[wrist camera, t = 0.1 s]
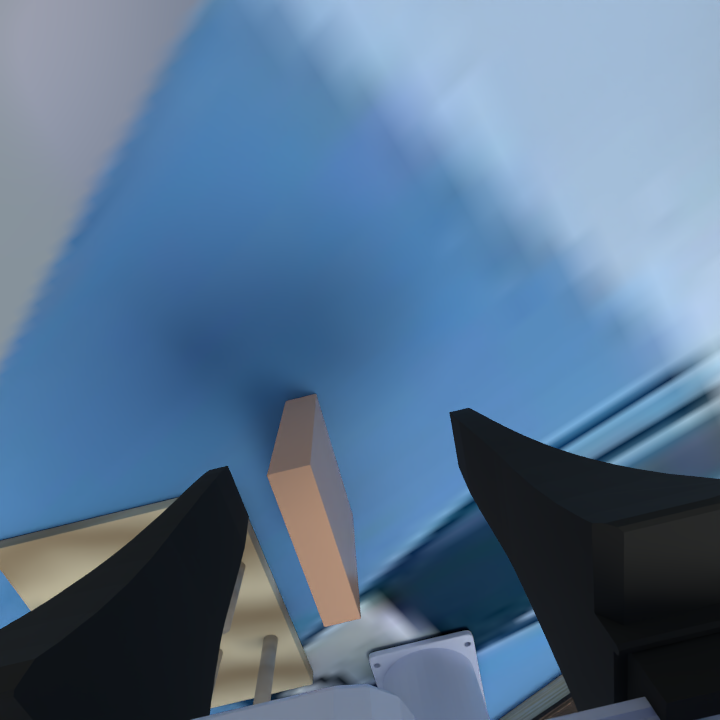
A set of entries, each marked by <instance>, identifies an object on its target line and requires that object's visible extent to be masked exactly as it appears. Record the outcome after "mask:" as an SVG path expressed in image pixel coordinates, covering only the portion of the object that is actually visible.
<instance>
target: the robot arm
mask: <svg viewBox="0 0 720 720" xmlns="http://www.w3.org/2000/svg"><path fill="white" fill-rule="evenodd" d="M450 418H451V424H452V430H453V435H454V441H455V447H456V453H457V459H458V465H459V468H460V470H461V473H462V475H463V478H464V480H465V482H466V484H467V487H468V489H469V491H470V493H471V495H472V497H473V499H474V500H475V502H476V504H477V505H478V507H479V509H480V511H481V512H482V514H483V516H484V517H485V519H486V521H487V522H488V524H489V526H490V527H491V529H492V531H493V532H494V534H495V536H496V537H497V539H498V541H499V542H500V544H501V546H502V547H503V549H504V551H505V553H506V554H507V556H508V558H509V560H510V562H511V564H512V565H513V567H514V569H515V571H516V573H517V576H518V578H519V580H520V582H521V584H522V586H523V588H524V590H525V593H526V595H527V597H528V599H529V601H530V603H531V606H532V608H533V610H534V612H535V614H536V617H537V619H538V621H539V623H540V625H541V628H542V630H543V632H544V634H545V636H546V639H547V641H548V643H549V645H550V648H551V650H552V652H553V655H554V657H555V659H556V661H557V664H558V666H559V668H560V670H561V673H562V675H563V677H564V680H565V682H566V684H567V686H568V689H569V691H570V694H571V696H572V698H573V701H574V703H575V705H576V708H577V710H578V712H577V713H572V714H568V715H564V716H559V717H555V718H551V719H547V720H720V479H714V478H704V477H694V476H685V475H675V474H666V473H659V472H653V471H647V470H641V469H634V468H629V467H624V466H619V465H614V464H610V463H606V462H602V461H598V460H594V459H589V458H586V457H582V456H579V455H575V454H572V453H569V452H566V451H563V450H560V449H557V448H554V447H551V446H548V445H546V444H543V443H541V442H538V441H536V440H533V439H531V438H528V437H526V436H524V435H522V434H519V433H517V432H515V431H513V430H511V429H509V428H507V427H505V426H503V425H501V424H499V423H497V422H495V421H493V420H491V419H489V418H487V417H485V416H484V415H482V414H480V413H478V412H476V411H474V410H472V409H470V408H466V409H462V410H458V411H453V412H450ZM248 518H249V516H248V514H247V511H246V509H245V506H244V504H243V502H242V499H241V497H240V494H239V492H238V489H237V487H236V485H235V482H234V480H233V477H232V475H231V472H230V470H229V468H228V466H225V467H221V468H217V469H213V470H209V471H208V472H206V473H205V474H204V475H203V476H201V477H200V478H199V479H198V480H197V481H196V482H195V483H193V484H192V485H191V486H190V487H189V488H188V489H187V490H186V491H185V492H184V493H183V494H182V495H181V496H180V497H179V498H177V499H176V500H175V501H174V502H173V503H172V504H171V505H170V506H169V507H168V508H167V509H166V510H165V511H164V512H163V513H161V514H160V515H159V516H158V517H157V518H156V519H155V520H154V521H152V522H151V523H150V524H149V525H148V526H147V527H146V528H145V529H143V530H142V531H141V532H140V533H139V534H138V535H137V536H135V537H134V538H133V539H132V540H131V541H130V542H128V543H127V544H126V545H125V546H124V547H122V548H121V549H120V550H119V551H117V552H116V553H115V554H113V555H112V556H111V557H110V558H108V559H107V560H106V561H104V562H103V563H102V564H100V565H99V566H98V567H96V568H95V569H94V570H92V571H91V572H89V573H88V574H87V575H85V576H84V577H82V578H81V579H79V580H78V581H76V582H75V583H73V584H72V585H70V586H69V587H67V588H66V589H64V590H63V591H62V592H60V593H59V594H57V595H56V596H54V597H53V598H51V599H50V600H48V601H46V602H45V603H43V604H42V605H40V606H38V607H37V608H35V609H34V610H32V611H30V612H29V613H27V614H25V615H24V616H22V617H20V618H19V619H17V620H15V621H14V622H12V623H10V624H8V625H7V626H5V627H3V628H2V629H0V720H490V717H489V714H488V711H487V708H486V703H485V697H484V692H483V687H482V682H481V676H480V671H479V666H478V661H477V655H476V650H475V645H474V640H473V636H472V633H471V632H470V631H468V630H464V631H460V632H456V633H451V634H447V635H443V636H439V637H435V638H430V639H426V640H422V641H418V642H414V643H409V644H405V645H401V646H397V647H393V648H388V649H384V650H380V651H376V652H372V653H371V654H370V655H369V663H370V666H371V669H372V672H373V675H374V678H375V681H376V684H377V687H378V688H377V687H375V686H372V685H369V684H356V685H338V686H332V687H327V688H323V689H319V690H315V691H310V692H306V693H302V694H298V695H293V696H289V697H285V698H281V699H276V700H272V701H268V702H264V703H259V704H255V705H251V706H247V707H242V708H238V709H234V710H230V711H225V712H221V713H217V714H213V715H210V708H211V701H212V694H213V687H214V680H215V673H216V667H217V661H218V655H219V649H220V643H221V638H222V633H223V629H224V624H225V620H226V616H227V613H228V609H229V605H230V602H231V598H232V594H233V591H234V587H235V583H236V580H237V576H238V572H239V568H240V565H241V561H242V557H243V553H244V549H245V543H246V536H247V528H248Z"/></svg>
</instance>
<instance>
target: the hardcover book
mask: <svg viewBox="0 0 720 720" xmlns="http://www.w3.org/2000/svg"><path fill="white" fill-rule="evenodd" d="M577 712H578V710H577V708H576V705H575V703H574V701H573V698H572V696H571V694H570V691H569V689H568V686H567V684H566V682H565V680H564V677H563V675H560V676H559V677H558V678H556V679H555V680H553V681H552V682H551V683H549V684H548V685H546V686H545V687H544V688H542V689H541V690H539V691H538V692H537V693H535V694H534V695H533V696H531V697H530V698H528V699H527V700H526V701H524V702H523V703H521V704H520V705H519V706H517V707H516V708H514V709H513V710H512V711H510V712H509V713H507V714H506V715H505V716H503V717H502V718H501V719H499V720H547V719H551V718H555V717H559V716H564V715H568V714H572V713H577Z"/></svg>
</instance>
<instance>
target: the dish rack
mask: <svg viewBox="0 0 720 720" xmlns="http://www.w3.org/2000/svg"><path fill="white" fill-rule="evenodd" d="M178 498H179V497H178ZM176 499H177V498H174V499H170V500H166V501H162V502H158V503H154V504H149V505H145V506H141V507H137V508H133V509H129V510H125V511H121V512H116V513H112V514H108V515H104V516H100V517H96V518H92V519H88V520H84V521H79V522H75V523H71V524H67V525H63V526H59V527H55V528H51V529H46V530H42V531H38V532H34V533H30V534H26V535H22V536H18V537H14V538H9V539H5V540H1V541H0V570H1V571H2V572H3V574H4V575H5V577H6V578H7V579H8V581H9V582H10V583H11V585H12V586H13V587H14V589H15V590H16V591H17V593H18V594H19V595H20V597H21V598H22V599H23V601H24V602H25V604H26V605H27V606H28V608H29V609H30V610H31V611H32V610H34V609H35V608H37V607H38V606H40V605H42V604H43V603H45V602H46V601H48V600H50V599H51V598H53V597H54V596H56V595H57V594H59V593H60V592H62V591H63V590H64V589H66V588H67V587H69V586H70V585H72V584H73V583H75V582H76V581H78V580H79V579H81V578H82V577H84V576H85V575H87V574H88V573H89V572H91V571H92V570H94V569H95V568H96V567H98V566H99V565H100V564H102V563H103V562H104V561H106V560H107V559H108V558H110V557H111V556H112V555H113V554H115V553H116V552H117V551H119V550H120V549H121V548H122V547H124V546H125V545H126V544H127V543H128V542H130V541H131V540H132V539H133V538H134V537H135V536H137V535H138V534H139V533H140V532H141V531H142V530H143V529H145V528H146V527H147V526H148V525H149V524H150V523H151V522H152V521H154V520H155V519H156V518H157V517H158V516H159V515H160V514H161V513H163V512H164V511H165V510H166V509H167V508H168V507H169V506H170V505H171V504H172V503H173V502H174V501H175V500H176ZM311 684H313V671H312V669H311V666H310V664H309V662H308V659H307V657H306V654H305V652H304V650H303V647H302V645H301V642H300V640H299V638H298V635H297V633H296V631H295V628H294V626H293V623H292V621H291V619H290V616H289V614H288V611H287V609H286V607H285V604H284V602H283V599H282V597H281V595H280V592H279V590H278V588H277V585H276V583H275V580H274V578H273V576H272V573H271V571H270V568H269V566H268V564H267V561H266V559H265V556H264V554H263V552H262V549H261V547H260V545H259V542H258V540H257V537H256V535H255V533H254V530H253V528H252V525H251V523H250V521H249V518H248V528H247V536H246V543H245V549H244V553H243V557H242V561H241V565H240V568H239V572H238V576H237V580H236V583H235V587H234V591H233V594H232V598H231V602H230V605H229V609H228V613H227V616H226V620H225V624H224V629H223V633H222V638H221V643H220V649H219V655H218V661H217V667H216V673H215V680H214V687H213V694H212V701H211V708H214V707H218V706H222V705H227V704H231V703H235V702H239V701H243V700H248V699H252V698H254V702H253V705H255V704H259V703H264V702H268V701H270V700H271V694H273V693H277V692H281V691H286V690H290V689H294V688H298V687H302V686H307V685H311Z"/></svg>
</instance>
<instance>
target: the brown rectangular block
mask: <svg viewBox="0 0 720 720" xmlns="http://www.w3.org/2000/svg"><path fill="white" fill-rule="evenodd" d="M267 477H268V479H269V482H270V485H271V487H272V490H273V493H274V495H275V498H276V500H277V503H278V506H279V508H280V511H281V514H282V516H283V519H284V522H285V524H286V527H287V529H288V532H289V535H290V537H291V540H292V543H293V545H294V548H295V551H296V553H297V556H298V558H299V561H300V564H301V566H302V569H303V572H304V574H305V577H306V580H307V582H308V585H309V587H310V590H311V593H312V595H313V598H314V601H315V603H316V606H317V609H318V611H319V614H320V616H321V619H322V622H323V624H324V627H327V626H331V625H335V624H339V623H343V622H348V621H352V620H356V619H360V618H361V615H360V602H359V589H358V576H357V563H356V550H355V537H354V524H353V515H352V511H351V508H350V505H349V501H348V498H347V495H346V491H345V488H344V485H343V481H342V478H341V475H340V471H339V468H338V465H337V461H336V458H335V455H334V451H333V448H332V445H331V441H330V438H329V435H328V431H327V428H326V425H325V421H324V418H323V415H322V411H321V408H320V405H319V401H318V398H317V395H316V394H313V395H309V396H305V397H301V398H296V399H292V400H288V401H286V402H285V406H284V410H283V414H282V418H281V422H280V426H279V430H278V433H277V437H276V441H275V445H274V449H273V453H272V457H271V461H270V465H269V469H268V473H267Z"/></svg>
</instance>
